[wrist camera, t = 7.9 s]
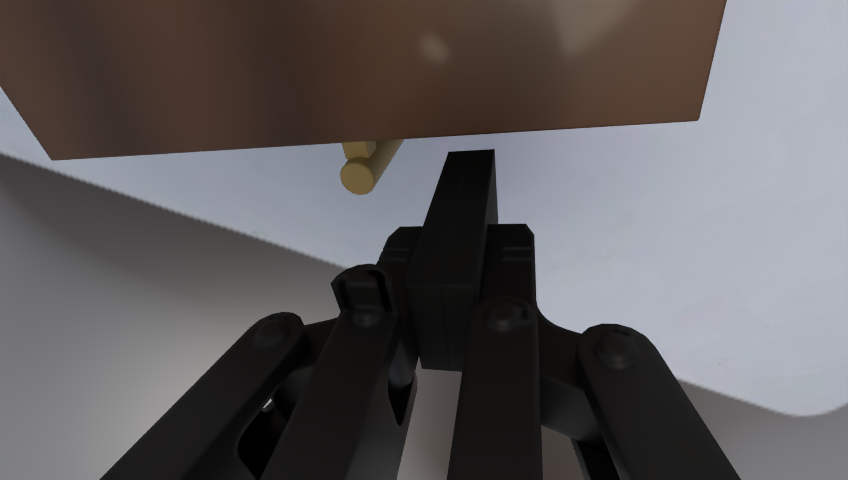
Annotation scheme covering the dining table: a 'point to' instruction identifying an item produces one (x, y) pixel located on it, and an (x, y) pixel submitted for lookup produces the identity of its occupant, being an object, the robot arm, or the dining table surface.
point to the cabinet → (344, 69)
